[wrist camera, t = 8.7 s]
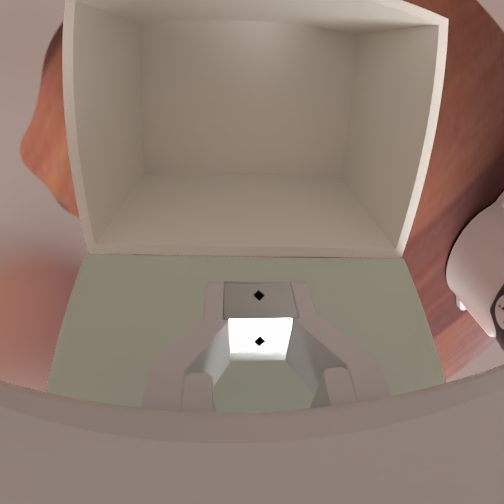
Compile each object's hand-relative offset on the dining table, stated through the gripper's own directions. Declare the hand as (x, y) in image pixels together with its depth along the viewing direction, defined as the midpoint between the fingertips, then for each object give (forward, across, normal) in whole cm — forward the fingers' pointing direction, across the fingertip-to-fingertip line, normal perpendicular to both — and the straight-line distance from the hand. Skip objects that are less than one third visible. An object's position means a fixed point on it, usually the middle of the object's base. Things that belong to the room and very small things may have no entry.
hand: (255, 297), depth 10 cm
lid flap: (-1, 0, -5) cm, 5 cm away
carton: (+18, 0, +4) cm, 19 cm away
